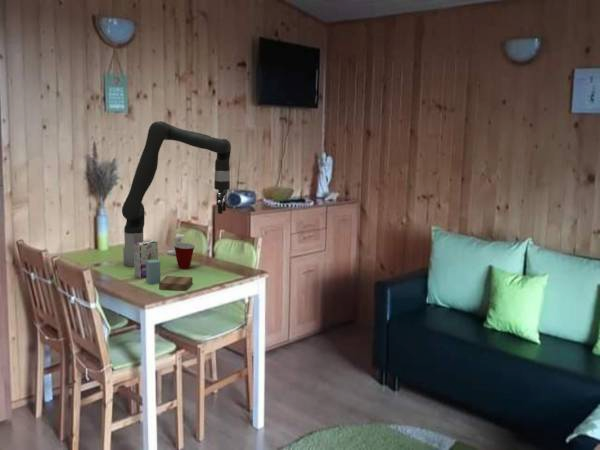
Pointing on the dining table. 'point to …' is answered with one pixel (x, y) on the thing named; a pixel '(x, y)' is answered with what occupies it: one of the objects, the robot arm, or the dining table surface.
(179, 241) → the seated beast figurine
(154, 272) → the teal block
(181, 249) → the plastic cup
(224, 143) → the robot arm
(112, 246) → the dining table surface
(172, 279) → the walnut board
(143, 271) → the candy bar box
